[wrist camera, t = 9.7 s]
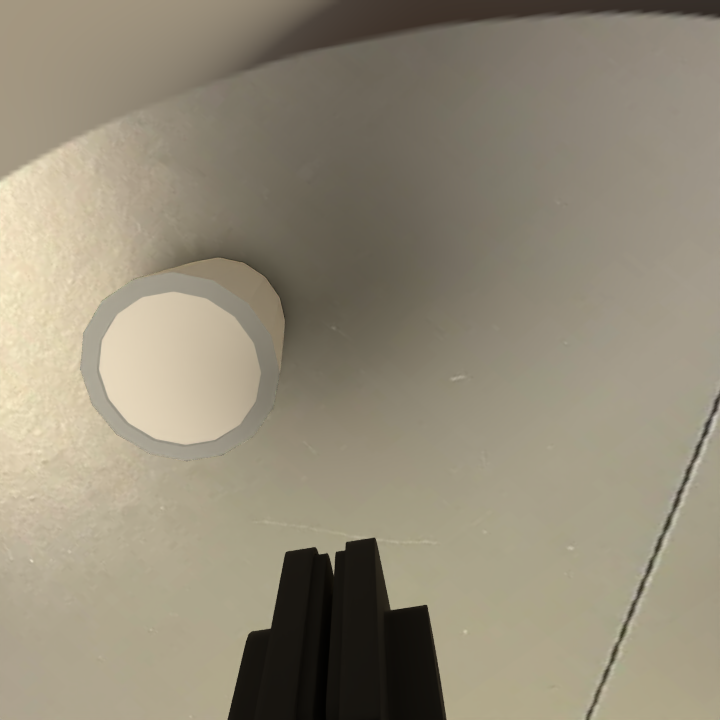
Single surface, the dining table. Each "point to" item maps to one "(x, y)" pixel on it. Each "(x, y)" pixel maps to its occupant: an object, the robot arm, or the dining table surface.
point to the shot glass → (186, 358)
